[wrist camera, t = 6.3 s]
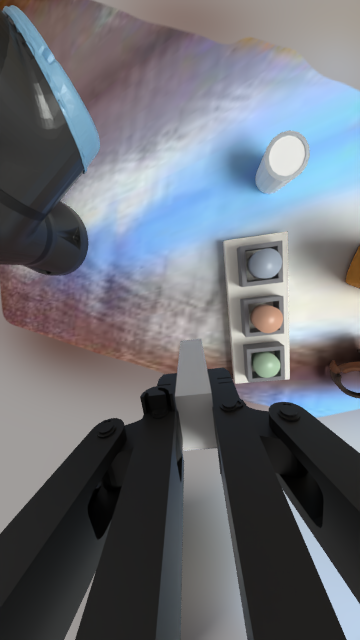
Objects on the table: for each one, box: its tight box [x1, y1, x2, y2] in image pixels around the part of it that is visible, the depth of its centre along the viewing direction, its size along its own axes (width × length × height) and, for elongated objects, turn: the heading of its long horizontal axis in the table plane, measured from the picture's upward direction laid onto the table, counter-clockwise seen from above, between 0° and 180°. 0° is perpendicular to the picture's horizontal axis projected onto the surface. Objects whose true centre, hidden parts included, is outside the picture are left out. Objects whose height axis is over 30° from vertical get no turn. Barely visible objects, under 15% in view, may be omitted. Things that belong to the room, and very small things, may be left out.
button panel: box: [223, 231, 290, 384], centre depth 41 cm, size 31×12×5 cm, turn 7°
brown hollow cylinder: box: [330, 350, 360, 398], centre depth 42 cm, size 12×10×8 cm
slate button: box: [247, 248, 282, 278], centre depth 36 cm, size 5×5×3 cm
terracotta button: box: [250, 304, 283, 333], centre depth 38 cm, size 5×5×3 cm
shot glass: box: [255, 131, 310, 194], centre depth 34 cm, size 7×7×7 cm
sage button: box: [251, 351, 280, 378], centre depth 41 cm, size 5×5×3 cm
